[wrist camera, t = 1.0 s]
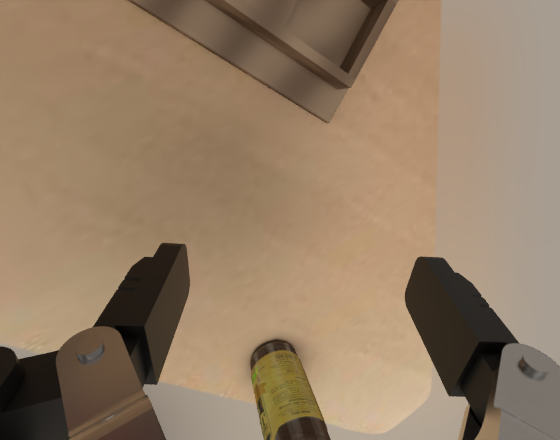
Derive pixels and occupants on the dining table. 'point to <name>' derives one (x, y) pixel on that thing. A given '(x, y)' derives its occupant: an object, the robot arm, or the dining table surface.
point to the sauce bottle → (285, 395)
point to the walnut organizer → (285, 41)
